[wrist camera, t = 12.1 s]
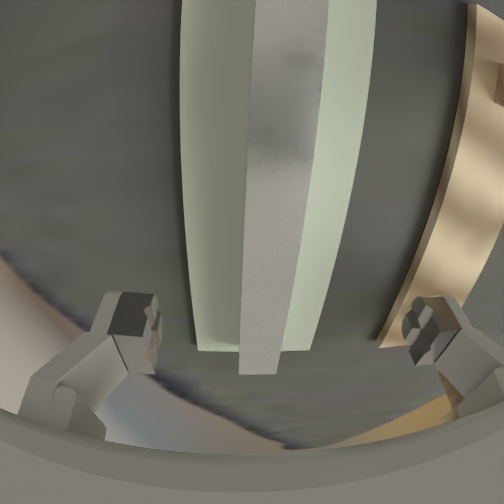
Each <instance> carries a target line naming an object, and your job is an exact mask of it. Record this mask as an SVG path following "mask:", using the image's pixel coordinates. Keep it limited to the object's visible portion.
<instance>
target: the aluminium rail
mask: <svg viewBox="0 0 504 504" xmlns="http://www.w3.org/2000/svg"><path fill="white" fill-rule="evenodd" d="M328 7H329V0H253V15H252V32H251V50H250V68H249V87H248V107H247V128H246V149H245V171H244V195H243V220H242V246H241V273H240V303H239V335H238V364H239V374H276V371H277V367H278V362H279V357H280V352H281V348H282V343H283V338H284V333H285V328H286V323H287V317H288V312H289V307H290V302H291V296H292V291H293V285H294V280H295V274H296V268H297V263H298V257H299V251H300V245H301V239H302V233H303V226H304V220H305V214H306V207H307V200H308V194H309V187H310V180H311V173H312V165H313V158H314V150H315V142H316V134H317V126H318V117H319V109H320V100H321V90H322V80H323V70H324V59H325V48H326V35H327V22H328Z"/></svg>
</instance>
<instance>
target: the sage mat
mask: <svg viewBox="0 0 504 504" xmlns="http://www.w3.org/2000/svg"><path fill="white" fill-rule="evenodd" d="M376 5H377V0H329V7H328V22H327V35H326V48H325V59H324V70H323V80H322V90H321V100H320V109H319V117H318V126H317V134H316V142H315V150H314V158H313V165H312V173H311V180H310V187H309V194H308V200H307V207H306V214H305V220H304V226H303V233H302V239H301V245H300V251H299V257H298V263H297V268H296V274H295V280H294V285H293V291H292V296H291V302H290V307H289V312H288V317H287V323H286V328H285V333H284V338H283V343H282V348H281V351H298V350H310V347H311V344H312V341H313V338H314V334H315V331H316V328H317V325H318V321H319V318H320V314H321V311H322V308H323V304H324V301H325V297H326V293H327V290H328V286H329V283H330V279H331V275H332V271H333V267H334V264H335V260H336V256H337V252H338V248H339V244H340V240H341V235H342V231H343V227H344V223H345V218H346V214H347V209H348V205H349V200H350V195H351V190H352V185H353V180H354V175H355V170H356V165H357V160H358V154H359V148H360V143H361V137H362V131H363V125H364V118H365V111H366V105H367V97H368V90H369V82H370V74H371V65H372V56H373V45H374V34H375V21H376ZM252 15H253V0H182V14H181V39H180V141H181V168H182V188H183V205H184V220H185V234H186V246H187V257H188V268H189V278H190V288H191V297H192V306H193V315H194V323H195V331H196V339H197V346H198V351H238V335H239V303H240V273H241V246H242V220H243V195H244V171H245V149H246V128H247V107H248V87H249V68H250V50H251V32H252Z"/></svg>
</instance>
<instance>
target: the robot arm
mask: <svg viewBox="0 0 504 504" xmlns="http://www.w3.org/2000/svg"><path fill="white" fill-rule="evenodd" d="M158 305H159V302H158V298H157V295H155V294H144V293H133V292H119V291H109V290H108V291H107V292H106V293H105V295H104V297H103V300H102V302H101V304H100V307H99V309H98V312H97V314H96V317H95V319H94V322H93V324H92V327H91V330H90V332H84V333H83V334H82V335H81V336H80V337H78V338H77V339H76V340H74V341H73V342H72V343H71V344H70V345H68V346H67V347H66V348H65V349H63V350H62V351H61V352H60V353H58V354H57V355H56V356H55V357H54V358H52V359H51V360H50V361H49V362H47V363H46V364H45V365H44V366H43V367H42V368H40V369H39V370H38V371H37V372H35V373H34V374H33V375H32V376H31V378H30V380H29V383H28V386H27V389H26V391H25V394H24V397H23V400H22V403H21V406H20V409H19V412H18V415H16V414H13V413H11V412H8V411H6V410H3V409H1V408H0V504H504V350H503V349H502V348H501V347H500V346H498V345H497V344H496V343H495V342H493V341H492V340H491V339H490V338H488V337H487V336H486V335H484V334H483V333H482V332H481V331H479V330H478V329H477V328H473V327H472V326H471V324H470V322H469V320H468V319H467V317H466V315H465V314H464V312H463V310H462V309H461V307H460V305H459V304H458V302H457V300H456V299H455V297H454V296H452V295H435V296H418V297H416V298H415V299H414V300H413V302H412V304H411V307H412V310H410V311H409V312H408V313H407V314H406V315H405V317H404V319H403V321H402V328H401V329H402V335H403V337H404V340H405V341H406V342H407V343H408V344H410V349H409V352H410V355H411V357H412V359H413V362H414V365H415V366H420V365H427V364H434V366H435V367H436V368H437V369H438V370H439V371H440V372H441V373H442V374H443V375H444V376H445V377H446V378H447V379H448V381H449V382H450V383H451V384H452V385H453V386H454V387H455V388H456V389H457V390H458V391H459V392H460V394H461V395H462V396H463V397H464V398H465V399H464V400H463V401H462V402H461V403H459V404H458V406H457V408H456V409H457V412H458V415H459V419H456V420H453V421H450V422H447V423H444V424H441V425H438V426H435V427H432V428H428V429H425V430H421V431H418V432H414V433H410V434H407V435H403V436H398V437H394V438H390V439H386V440H381V441H376V442H372V443H366V444H360V445H354V446H348V447H342V448H335V449H328V450H320V451H310V452H299V453H287V454H286V453H285V454H265V455H219V454H198V453H185V452H175V451H165V450H157V449H149V448H143V447H136V446H130V445H124V444H119V443H114V442H108V441H104V440H105V434H106V427H105V425H104V424H103V423H102V422H101V420H100V419H98V417H97V416H96V415H95V414H94V412H95V411H96V410H97V409H98V408H99V407H100V405H101V404H102V403H103V402H104V401H105V400H106V398H107V397H108V396H109V395H110V394H111V393H112V392H113V391H114V389H115V388H116V387H117V386H118V385H119V384H120V382H121V381H122V380H123V379H124V378H125V377H126V376H127V375H128V372H136V373H146V374H155V372H156V366H157V361H158V353H157V349H156V348H157V347H158V346H159V345H160V344H161V339H162V328H163V325H162V317H161V314H160V313H159V312H158V311H157V309H158Z"/></svg>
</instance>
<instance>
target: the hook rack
mask: <svg viewBox="0 0 504 504" xmlns="http://www.w3.org/2000/svg"><path fill="white" fill-rule="evenodd" d="M503 223H504V21H503V20H502V19H500V18H499V17H497V16H496V15H494V14H493V13H491V12H490V11H488V10H486V9H485V8H483V7H482V6H480V5H478V4H468V11H467V34H466V48H465V58H464V67H463V75H462V82H461V89H460V95H459V101H458V107H457V112H456V118H455V123H454V127H453V132H452V137H451V141H450V145H449V149H448V154H447V158H446V161H445V165H444V169H443V173H442V176H441V180H440V183H439V187H438V190H437V193H436V196H435V200H434V203H433V206H432V209H431V212H430V215H429V218H428V221H427V224H426V227H425V229H424V232H423V235H422V238H421V240H420V243H419V246H418V248H417V251H416V254H415V256H414V259H413V261H412V264H411V266H410V269H409V271H408V273H407V276H406V278H405V280H404V283H403V285H402V287H401V290H400V292H399V294H398V296H397V299H396V301H395V303H394V305H393V307H392V309H391V311H390V314H389V316H388V318H387V320H386V322H385V324H384V326H383V328H382V330H381V332H380V334H379V336H378V338H377V340H376V341H377V344H378V346H379V348H384V347H392V346H400V345H408V343H407V342H406V341H405V340H404V337H403V335H402V329H401V328H402V321H403V319H404V317H405V315H406V314H407V313H408V312H409V311H410V310H412V307H411V304H412V302H413V300H414V299H415V298H416V297H418V296H435V295H452V296H454V297H455V299H456V300H457V302H458V304H459V305H460V307H462V305H463V304H464V302H465V300H466V298H467V297H468V295H469V293H470V291H471V290H472V288H473V286H474V284H475V282H476V280H477V278H478V276H479V275H480V273H481V271H482V269H483V267H484V265H485V263H486V261H487V259H488V256H489V254H490V252H491V250H492V248H493V246H494V244H495V241H496V239H497V237H498V235H499V232H500V230H501V227H502V225H503ZM435 368H436V367H435ZM436 370H437V372H438V374H439V377H440V379H441V381H442V384H443V386H444V389H445V391H446V394H447V396H448V399H449V401H450V404H451V406H452V409H451V410H450V411H449V412H448V413H447V414H446V415H445V416H443V417H442V418H441V419H442V421H443V424H444V423H447V422H450V421H453V420H456V419H459V415H458V412H457V409H456V408H457V406H458V404H459V403H461V402H462V401H463V400H464V399H465V398H464V397H463V396H462V395H461V394H460V392H459V391H458V390H457V389H456V388H455V387H454V386H453V385H452V384H451V383H450V382H449V381H448V379H447V378H446V377H445V376H444V375H443V374H442V373H441V372H440V371H439V370H438V369H437V368H436Z"/></svg>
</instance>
